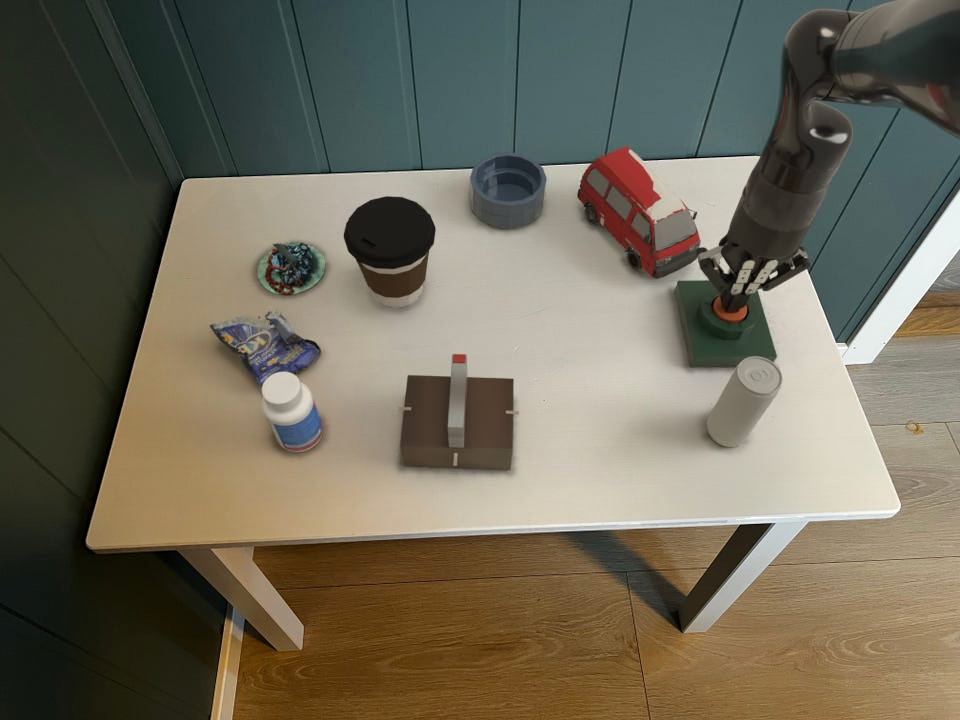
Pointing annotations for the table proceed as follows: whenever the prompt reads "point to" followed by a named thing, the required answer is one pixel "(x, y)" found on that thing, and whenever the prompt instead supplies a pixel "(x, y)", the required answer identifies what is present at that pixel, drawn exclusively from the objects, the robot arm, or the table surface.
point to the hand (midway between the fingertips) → (730, 306)
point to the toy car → (639, 213)
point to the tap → (457, 401)
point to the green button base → (720, 328)
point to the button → (728, 313)
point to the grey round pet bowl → (507, 189)
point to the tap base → (483, 424)
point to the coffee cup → (391, 247)
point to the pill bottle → (291, 412)
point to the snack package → (267, 345)
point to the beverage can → (744, 400)
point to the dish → (291, 268)
